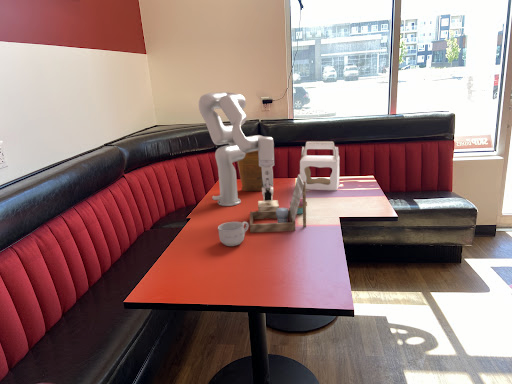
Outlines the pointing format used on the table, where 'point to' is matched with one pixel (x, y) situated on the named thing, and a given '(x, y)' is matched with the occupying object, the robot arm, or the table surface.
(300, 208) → the cupcake
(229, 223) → the teacup
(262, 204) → the stand
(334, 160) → the white carry box
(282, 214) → the blue pot
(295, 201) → the cold frame
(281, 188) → the table surface
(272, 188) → the cream pot
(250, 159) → the pancake mix bag
